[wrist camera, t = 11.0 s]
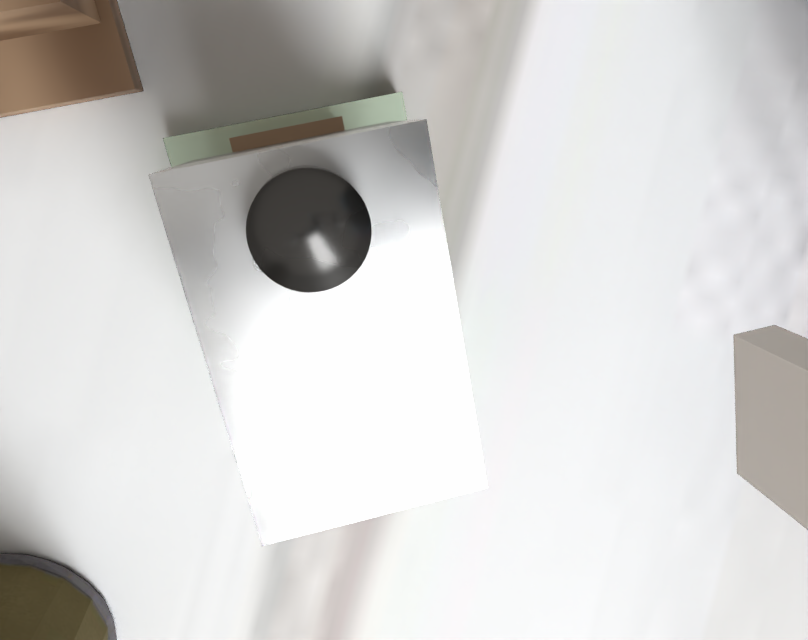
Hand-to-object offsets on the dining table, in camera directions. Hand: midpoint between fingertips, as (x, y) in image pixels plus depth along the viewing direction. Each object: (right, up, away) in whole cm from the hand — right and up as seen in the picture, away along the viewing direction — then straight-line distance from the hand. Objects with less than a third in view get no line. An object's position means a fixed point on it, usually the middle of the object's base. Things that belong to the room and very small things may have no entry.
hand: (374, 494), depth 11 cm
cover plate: (-2, +3, +10) cm, 11 cm away
